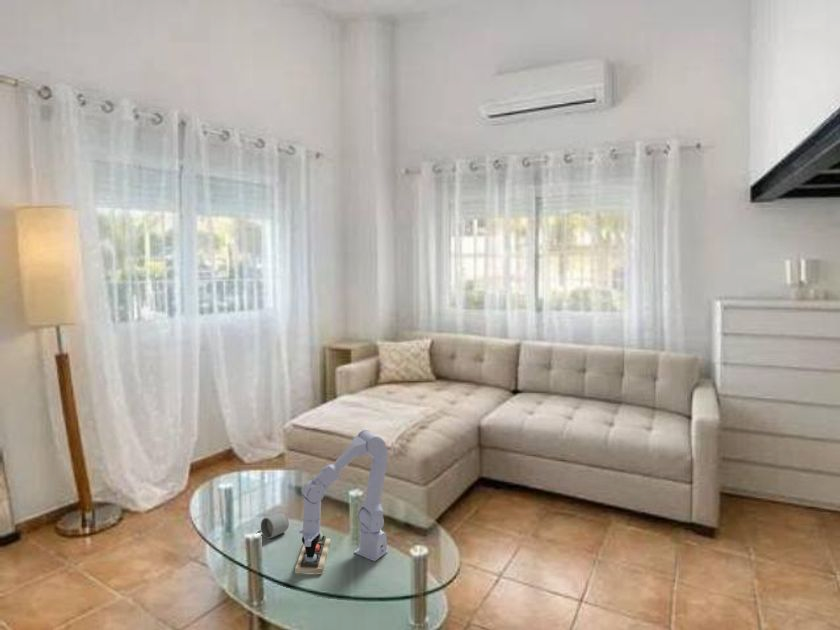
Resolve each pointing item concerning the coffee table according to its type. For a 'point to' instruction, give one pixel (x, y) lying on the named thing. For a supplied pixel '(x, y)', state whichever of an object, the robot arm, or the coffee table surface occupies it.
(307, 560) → the slate blue button
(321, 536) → the sage green button
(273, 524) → the ceramic mug
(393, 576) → the coffee table surface
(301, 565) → the button panel
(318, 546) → the red button
